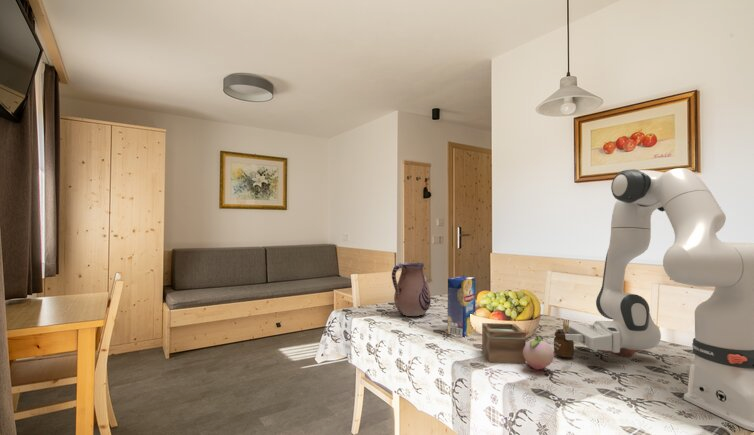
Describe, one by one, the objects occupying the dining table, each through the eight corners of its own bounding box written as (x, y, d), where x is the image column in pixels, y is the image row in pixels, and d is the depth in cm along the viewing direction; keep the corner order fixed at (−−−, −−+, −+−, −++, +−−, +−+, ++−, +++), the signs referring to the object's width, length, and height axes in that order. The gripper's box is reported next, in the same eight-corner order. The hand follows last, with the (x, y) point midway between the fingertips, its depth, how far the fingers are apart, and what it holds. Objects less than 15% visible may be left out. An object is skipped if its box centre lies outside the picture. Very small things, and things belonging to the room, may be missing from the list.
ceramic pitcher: (437, 315, 181) (437, 263, 181) (410, 323, 165) (410, 266, 166) (409, 309, 193) (409, 261, 193) (381, 316, 177) (382, 263, 178)
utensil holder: (570, 352, 125) (569, 316, 126) (577, 358, 119) (576, 320, 119) (551, 351, 126) (551, 315, 127) (557, 357, 120) (556, 319, 120)
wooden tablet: (629, 360, 122) (629, 355, 122) (595, 352, 129) (595, 347, 130) (647, 343, 141) (647, 338, 141) (616, 337, 148) (616, 333, 148)
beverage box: (475, 331, 152) (475, 277, 153) (463, 337, 143) (463, 280, 144) (460, 328, 156) (460, 276, 157) (447, 334, 148) (447, 278, 148)
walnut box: (525, 363, 116) (525, 332, 117) (489, 362, 117) (489, 331, 117) (514, 351, 127) (514, 323, 128) (482, 350, 128) (482, 323, 128)
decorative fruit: (552, 378, 105) (552, 342, 105) (521, 372, 109) (521, 338, 109) (554, 367, 113) (554, 334, 113) (526, 362, 117) (525, 330, 117)
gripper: (588, 317, 133) (548, 317, 133) (622, 333, 112) (574, 332, 113) (588, 335, 132) (548, 334, 133) (622, 354, 112) (575, 353, 113)
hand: (560, 333), depth 123 cm, fingers closed on utensil holder, 5 cm apart
